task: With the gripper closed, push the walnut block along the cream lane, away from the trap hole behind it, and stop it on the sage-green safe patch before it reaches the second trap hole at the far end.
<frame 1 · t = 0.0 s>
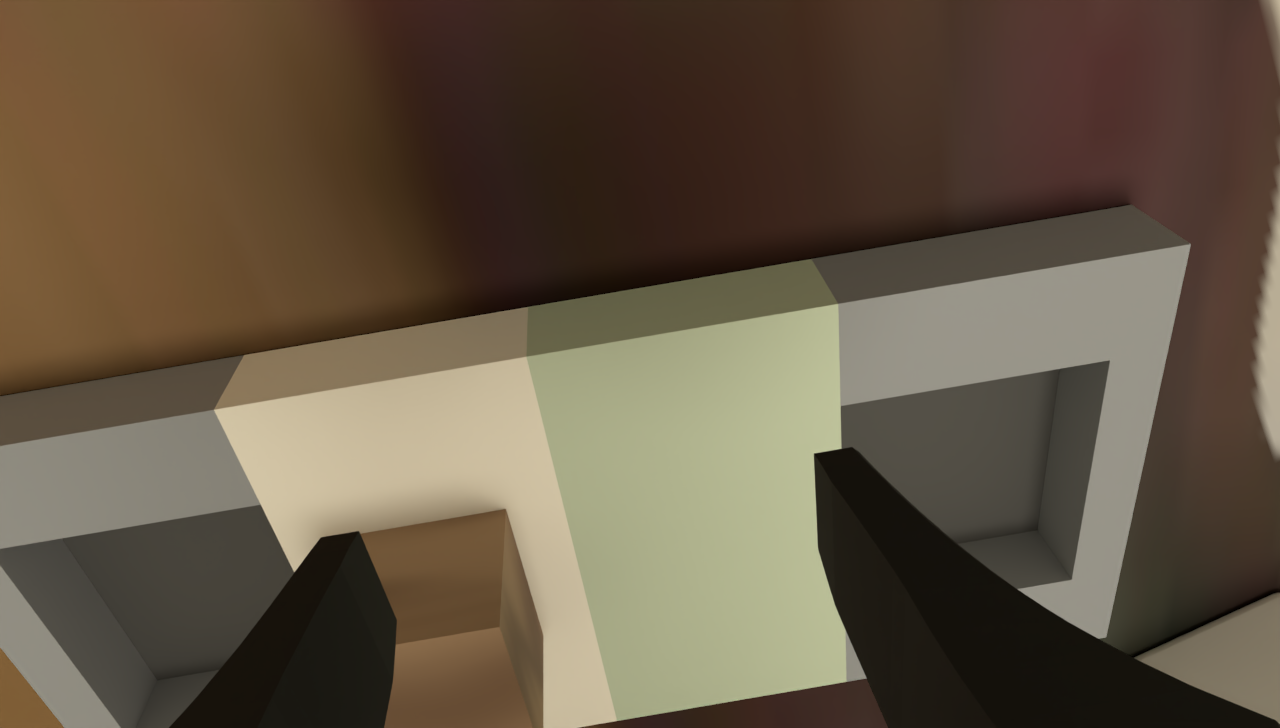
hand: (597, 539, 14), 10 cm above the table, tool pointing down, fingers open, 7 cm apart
walnut block: (437, 590, 25), point 2 cm above the table, touching trap lane
trap lane: (575, 507, 27), on the table
medicine bottle: (1206, 673, 34), on the table
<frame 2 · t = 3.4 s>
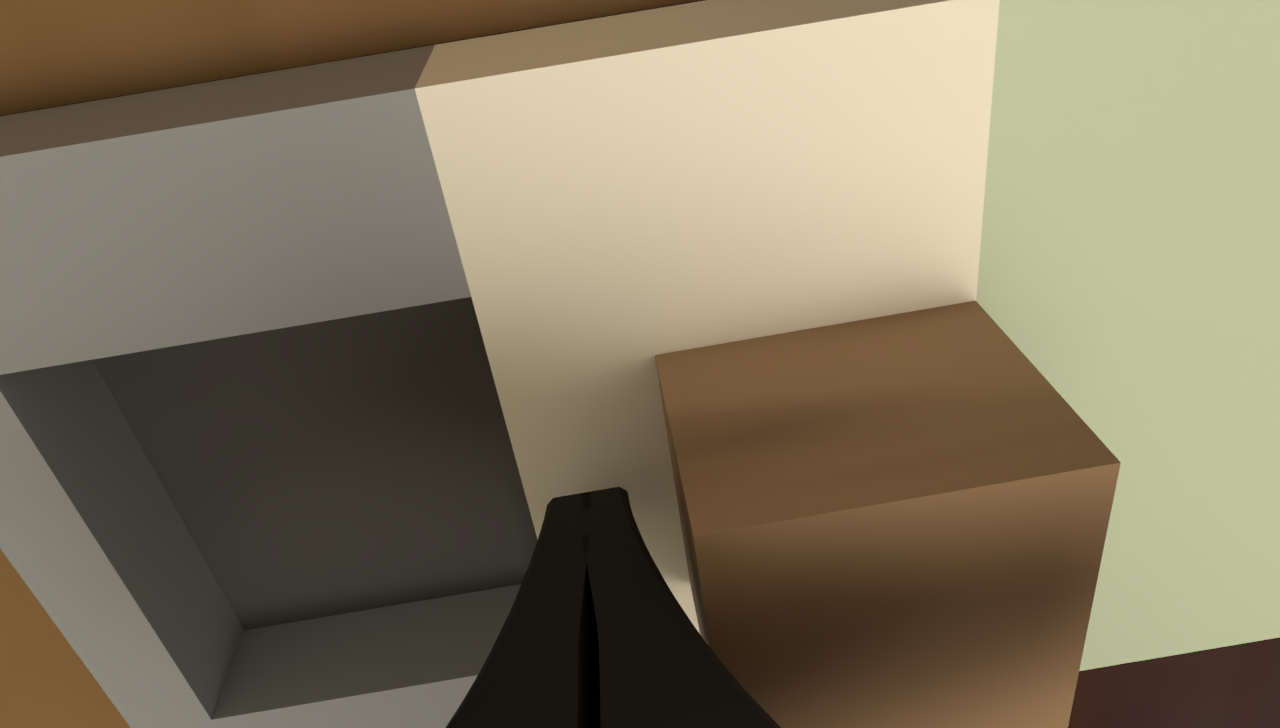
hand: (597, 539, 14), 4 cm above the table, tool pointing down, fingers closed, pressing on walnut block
walnut block: (820, 454, 15), point 3 cm above the table, touching gripper, trap lane
trap lane: (913, 354, 17), on the table
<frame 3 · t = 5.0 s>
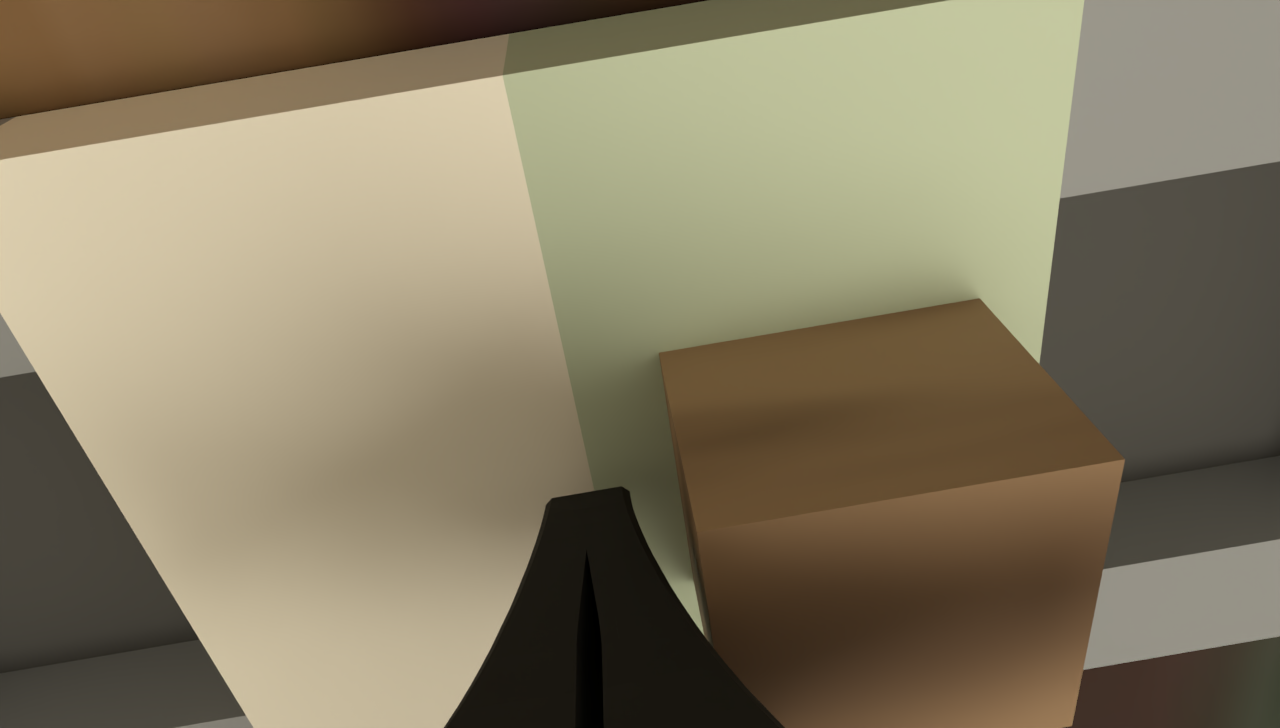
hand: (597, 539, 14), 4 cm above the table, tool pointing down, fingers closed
walnut block: (823, 452, 15), point 2 cm above the table, touching gripper, trap lane
trap lane: (588, 409, 17), on the table
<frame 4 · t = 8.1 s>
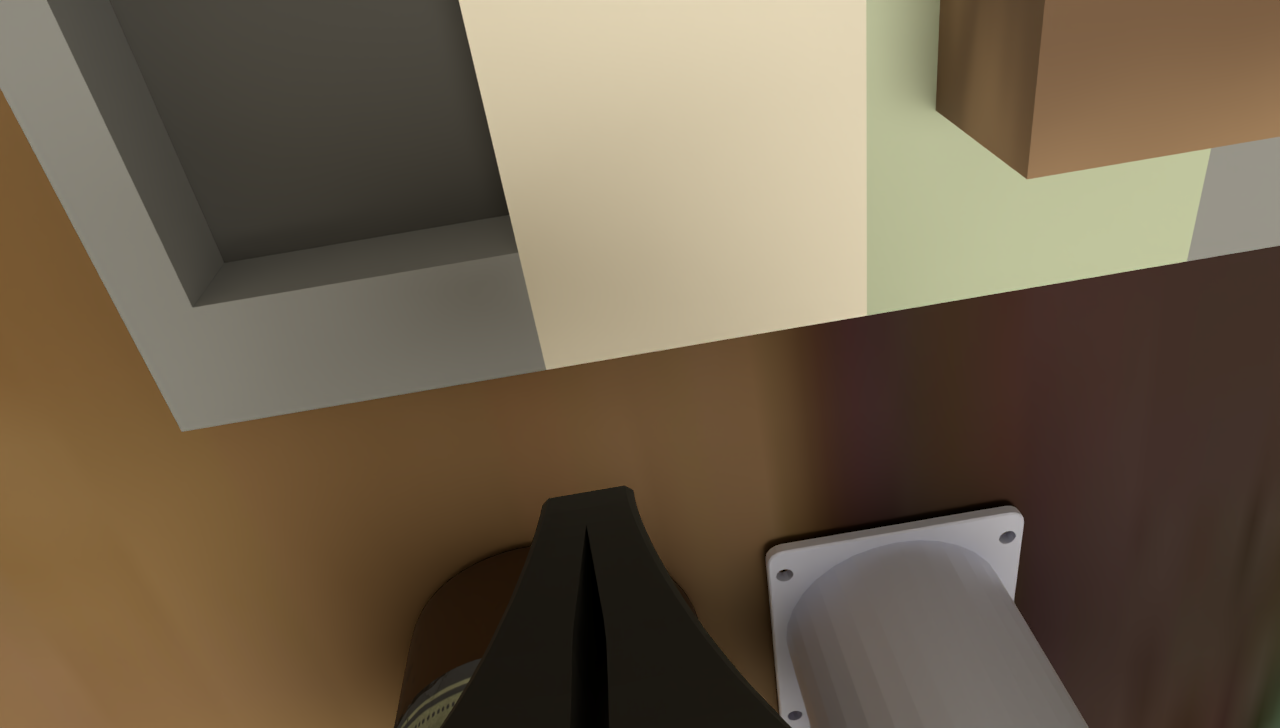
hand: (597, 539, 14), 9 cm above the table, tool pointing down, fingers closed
olive oil: (557, 638, 29), on the table
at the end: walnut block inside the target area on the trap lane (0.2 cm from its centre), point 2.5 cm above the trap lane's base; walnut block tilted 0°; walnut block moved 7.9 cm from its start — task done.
